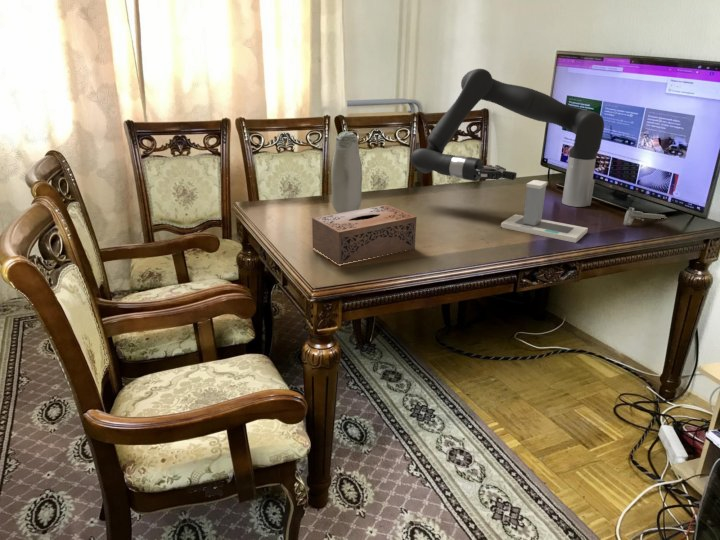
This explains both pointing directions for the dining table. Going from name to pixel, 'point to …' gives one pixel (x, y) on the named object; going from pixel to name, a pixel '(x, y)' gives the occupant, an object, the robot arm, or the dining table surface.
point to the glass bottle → (346, 173)
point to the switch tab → (534, 202)
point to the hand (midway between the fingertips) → (515, 176)
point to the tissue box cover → (363, 233)
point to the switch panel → (546, 229)
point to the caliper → (639, 216)
